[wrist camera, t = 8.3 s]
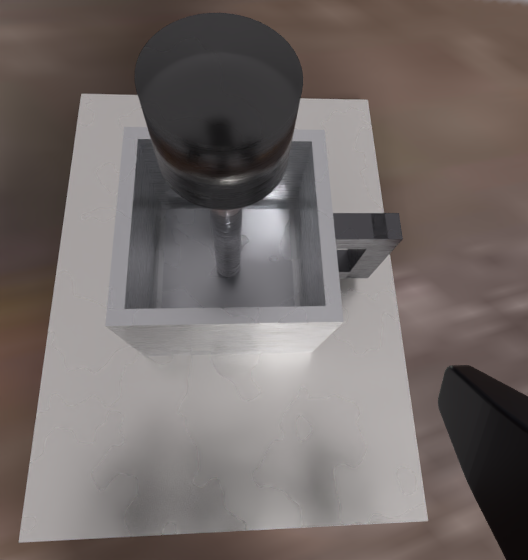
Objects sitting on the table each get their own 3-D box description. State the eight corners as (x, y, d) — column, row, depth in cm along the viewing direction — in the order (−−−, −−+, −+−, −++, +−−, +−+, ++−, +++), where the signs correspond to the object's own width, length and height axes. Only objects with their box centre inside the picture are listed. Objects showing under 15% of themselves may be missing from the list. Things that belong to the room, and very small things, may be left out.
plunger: (294, 330, 17) (375, 199, 7) (162, 333, 17) (55, 197, 7) (287, 214, 19) (345, -20, 9) (167, 214, 19) (89, -31, 9)
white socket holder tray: (419, 516, 17) (521, 566, 11) (28, 537, 16) (-99, 605, 10) (363, 110, 23) (407, 1, 17) (86, 105, 22) (31, -13, 16)
